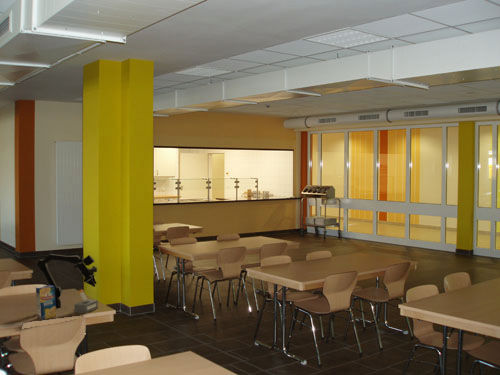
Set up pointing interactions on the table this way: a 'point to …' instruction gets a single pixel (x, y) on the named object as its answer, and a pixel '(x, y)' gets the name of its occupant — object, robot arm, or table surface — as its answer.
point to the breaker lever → (82, 295)
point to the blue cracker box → (46, 302)
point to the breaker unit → (86, 306)
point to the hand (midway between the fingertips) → (95, 285)
